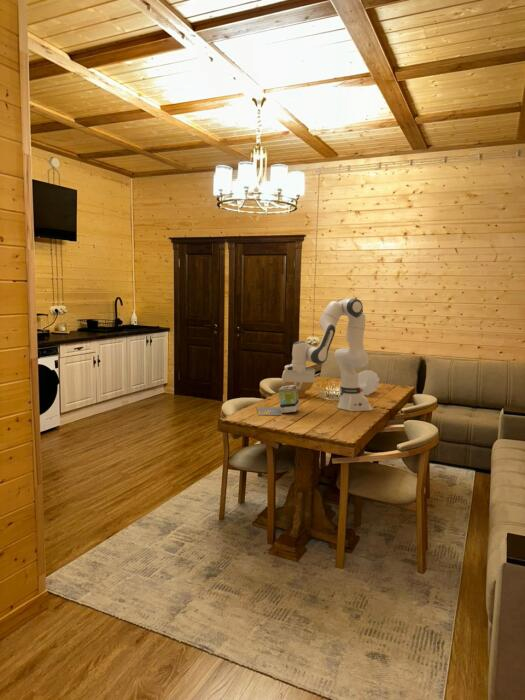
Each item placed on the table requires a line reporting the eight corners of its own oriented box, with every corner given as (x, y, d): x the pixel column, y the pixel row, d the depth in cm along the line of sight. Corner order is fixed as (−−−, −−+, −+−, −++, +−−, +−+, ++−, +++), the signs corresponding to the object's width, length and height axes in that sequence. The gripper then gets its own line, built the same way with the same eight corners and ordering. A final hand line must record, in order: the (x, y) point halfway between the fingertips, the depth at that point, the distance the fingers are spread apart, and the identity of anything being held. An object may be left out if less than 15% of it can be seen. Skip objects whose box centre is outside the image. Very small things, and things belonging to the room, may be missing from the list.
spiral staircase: (373, 396, 373) (368, 401, 350) (353, 384, 378) (347, 388, 355) (385, 376, 369) (380, 379, 346) (365, 364, 374) (359, 367, 351)
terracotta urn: (317, 398, 340) (319, 356, 337) (288, 399, 335) (290, 357, 332) (307, 392, 361) (308, 353, 357) (280, 393, 356) (281, 353, 352)
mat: (279, 407, 310) (279, 407, 310) (282, 415, 290) (282, 415, 290) (256, 407, 309) (256, 407, 309) (258, 415, 289) (258, 415, 289)
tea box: (296, 411, 292) (293, 387, 291) (280, 413, 294) (277, 389, 293) (299, 406, 307) (296, 384, 306) (284, 408, 309) (281, 385, 308)
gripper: (314, 366, 301) (313, 388, 303) (282, 366, 300) (281, 387, 301) (316, 368, 295) (315, 390, 297) (283, 367, 294) (282, 389, 295)
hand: (297, 389), depth 299 cm, fingers closed
